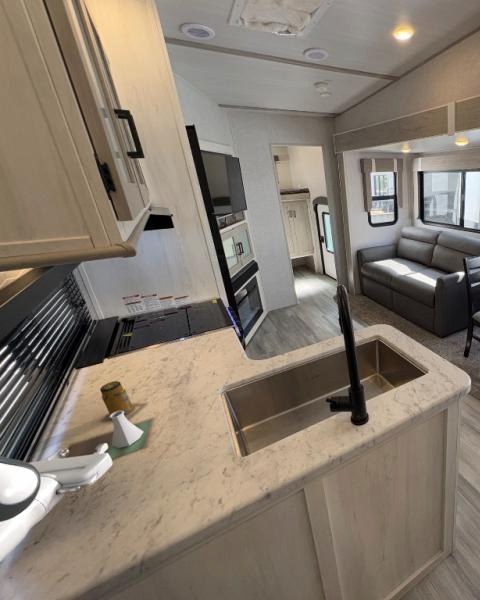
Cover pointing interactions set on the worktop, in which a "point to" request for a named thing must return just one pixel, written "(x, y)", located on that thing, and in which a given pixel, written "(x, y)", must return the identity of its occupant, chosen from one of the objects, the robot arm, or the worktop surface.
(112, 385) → the condiment
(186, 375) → the worktop surface
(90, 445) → the sorting board
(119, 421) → the flask
